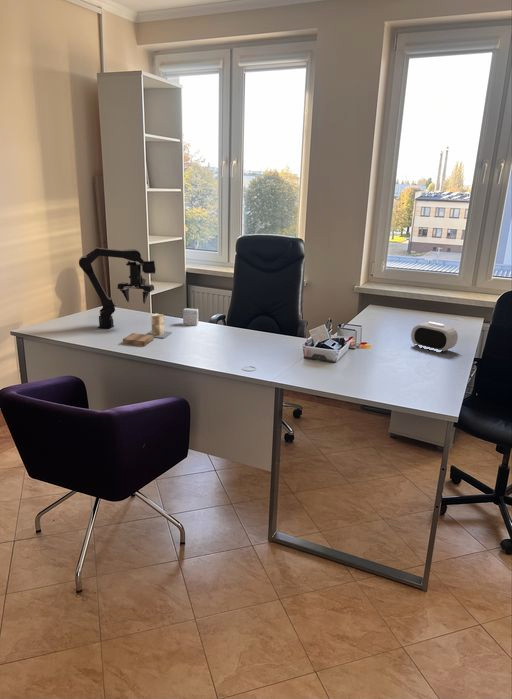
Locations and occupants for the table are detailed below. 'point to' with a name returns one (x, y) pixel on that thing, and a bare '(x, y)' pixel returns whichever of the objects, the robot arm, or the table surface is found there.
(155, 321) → the birch blank
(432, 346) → the alarm clock
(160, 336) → the slate mat
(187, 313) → the medicine box
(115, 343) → the table surface
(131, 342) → the walnut shelf block
